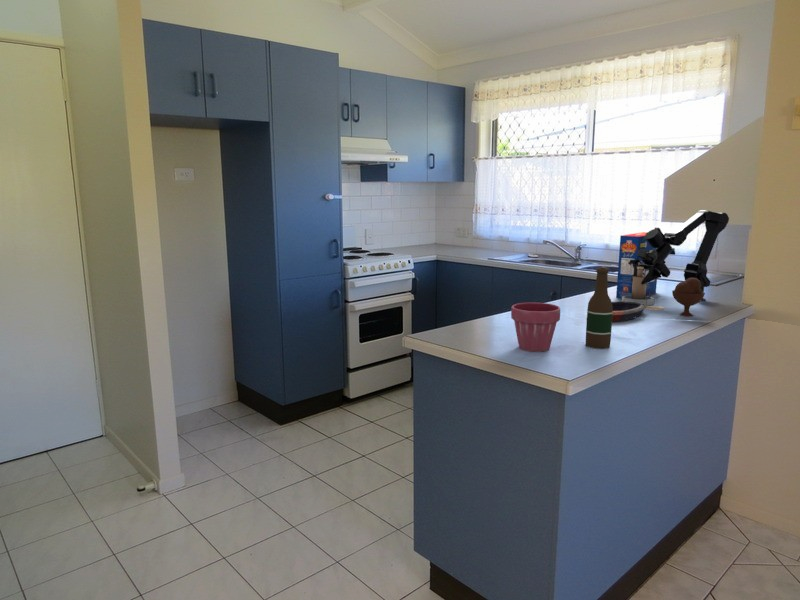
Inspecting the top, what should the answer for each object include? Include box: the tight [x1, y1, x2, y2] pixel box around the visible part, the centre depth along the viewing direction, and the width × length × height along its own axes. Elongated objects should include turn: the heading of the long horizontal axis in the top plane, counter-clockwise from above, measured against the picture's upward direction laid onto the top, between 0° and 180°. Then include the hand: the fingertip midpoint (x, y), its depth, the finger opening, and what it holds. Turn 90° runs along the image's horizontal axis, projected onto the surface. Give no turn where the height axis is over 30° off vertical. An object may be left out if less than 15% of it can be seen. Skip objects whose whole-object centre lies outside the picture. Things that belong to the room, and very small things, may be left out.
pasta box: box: [615, 232, 658, 299], centre depth 262 cm, size 28×8×28 cm, turn 139°
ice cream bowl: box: [671, 278, 706, 318], centre depth 218 cm, size 11×11×15 cm
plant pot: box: [510, 301, 561, 353], centre depth 174 cm, size 14×14×13 cm
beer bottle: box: [585, 267, 613, 350], centre depth 175 cm, size 8×8×24 cm
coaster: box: [645, 305, 666, 311], centre depth 233 cm, size 7×7×1 cm
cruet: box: [631, 267, 646, 299], centre depth 242 cm, size 5×5×13 cm
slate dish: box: [621, 295, 655, 306], centre depth 244 cm, size 12×12×3 cm
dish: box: [611, 300, 646, 323], centre depth 219 cm, size 16×31×5 cm, turn 129°
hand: (636, 282), depth 242 cm, fingers closed on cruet, 5 cm apart
